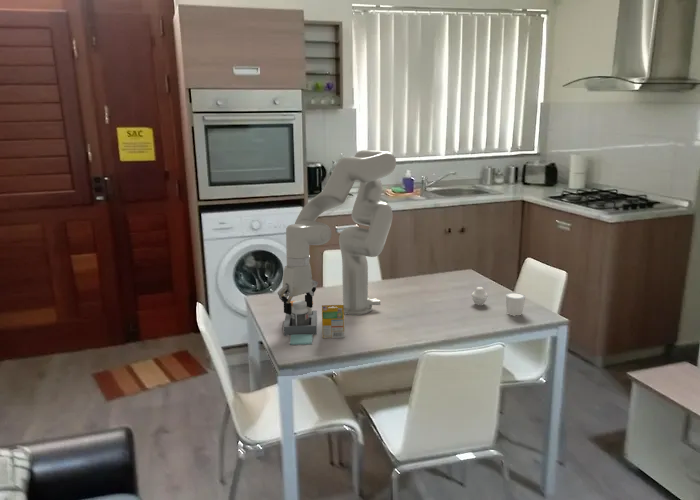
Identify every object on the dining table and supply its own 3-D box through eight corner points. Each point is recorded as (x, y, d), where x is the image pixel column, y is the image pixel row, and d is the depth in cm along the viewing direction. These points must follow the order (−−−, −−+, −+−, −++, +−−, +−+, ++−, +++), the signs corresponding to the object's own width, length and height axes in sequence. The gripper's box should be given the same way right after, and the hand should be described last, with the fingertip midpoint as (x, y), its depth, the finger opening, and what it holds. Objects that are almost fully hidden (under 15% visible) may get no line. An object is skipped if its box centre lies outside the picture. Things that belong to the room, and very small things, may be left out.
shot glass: (525, 311, 207) (526, 293, 206) (522, 317, 201) (523, 299, 200) (506, 309, 210) (507, 291, 208) (503, 315, 204) (504, 297, 202)
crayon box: (344, 334, 188) (343, 301, 186) (344, 338, 186) (344, 304, 183) (322, 335, 188) (321, 302, 185) (322, 338, 185) (321, 305, 182)
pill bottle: (311, 327, 195) (310, 300, 192) (305, 333, 189) (304, 306, 187) (296, 325, 196) (295, 299, 194) (289, 331, 191) (288, 304, 189)
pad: (312, 335, 188) (312, 334, 188) (311, 344, 181) (311, 342, 181) (291, 336, 187) (291, 334, 187) (290, 344, 181) (290, 343, 180)
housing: (317, 318, 203) (316, 310, 203) (316, 334, 189) (316, 326, 188) (286, 319, 203) (286, 311, 202) (283, 335, 188) (283, 327, 188)
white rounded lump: (469, 305, 214) (470, 288, 213) (472, 300, 220) (473, 283, 218) (486, 307, 212) (487, 290, 210) (488, 302, 217) (489, 285, 216)
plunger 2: (313, 317, 202) (313, 300, 201) (313, 321, 199) (312, 303, 197) (303, 317, 202) (303, 300, 201) (303, 321, 199) (302, 303, 197)
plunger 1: (299, 317, 202) (299, 300, 201) (299, 321, 199) (298, 304, 197) (289, 318, 202) (289, 300, 200) (289, 321, 199) (288, 304, 197)
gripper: (308, 255, 195) (309, 302, 199) (270, 264, 183) (271, 313, 187) (324, 258, 191) (324, 306, 194) (285, 268, 178) (286, 319, 182)
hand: (298, 310), depth 191 cm, fingers open, 9 cm apart
